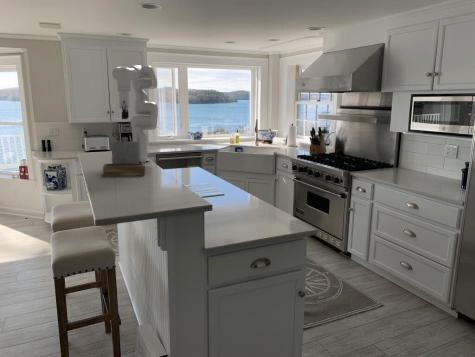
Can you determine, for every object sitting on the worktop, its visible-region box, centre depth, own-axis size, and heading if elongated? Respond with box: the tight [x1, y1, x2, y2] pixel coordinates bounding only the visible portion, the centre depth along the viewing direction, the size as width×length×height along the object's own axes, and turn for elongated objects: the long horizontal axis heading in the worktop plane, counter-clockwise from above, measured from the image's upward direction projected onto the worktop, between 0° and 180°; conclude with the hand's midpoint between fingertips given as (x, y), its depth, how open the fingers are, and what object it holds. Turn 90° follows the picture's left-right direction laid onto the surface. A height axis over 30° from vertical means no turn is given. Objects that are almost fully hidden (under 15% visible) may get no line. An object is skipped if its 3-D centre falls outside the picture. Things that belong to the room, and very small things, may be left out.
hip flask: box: [111, 137, 139, 164], centre depth 230 cm, size 16×4×20 cm, turn 110°
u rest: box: [102, 162, 146, 178], centre depth 219 cm, size 12×23×6 cm, turn 103°
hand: (125, 118), depth 224 cm, fingers open, 9 cm apart
